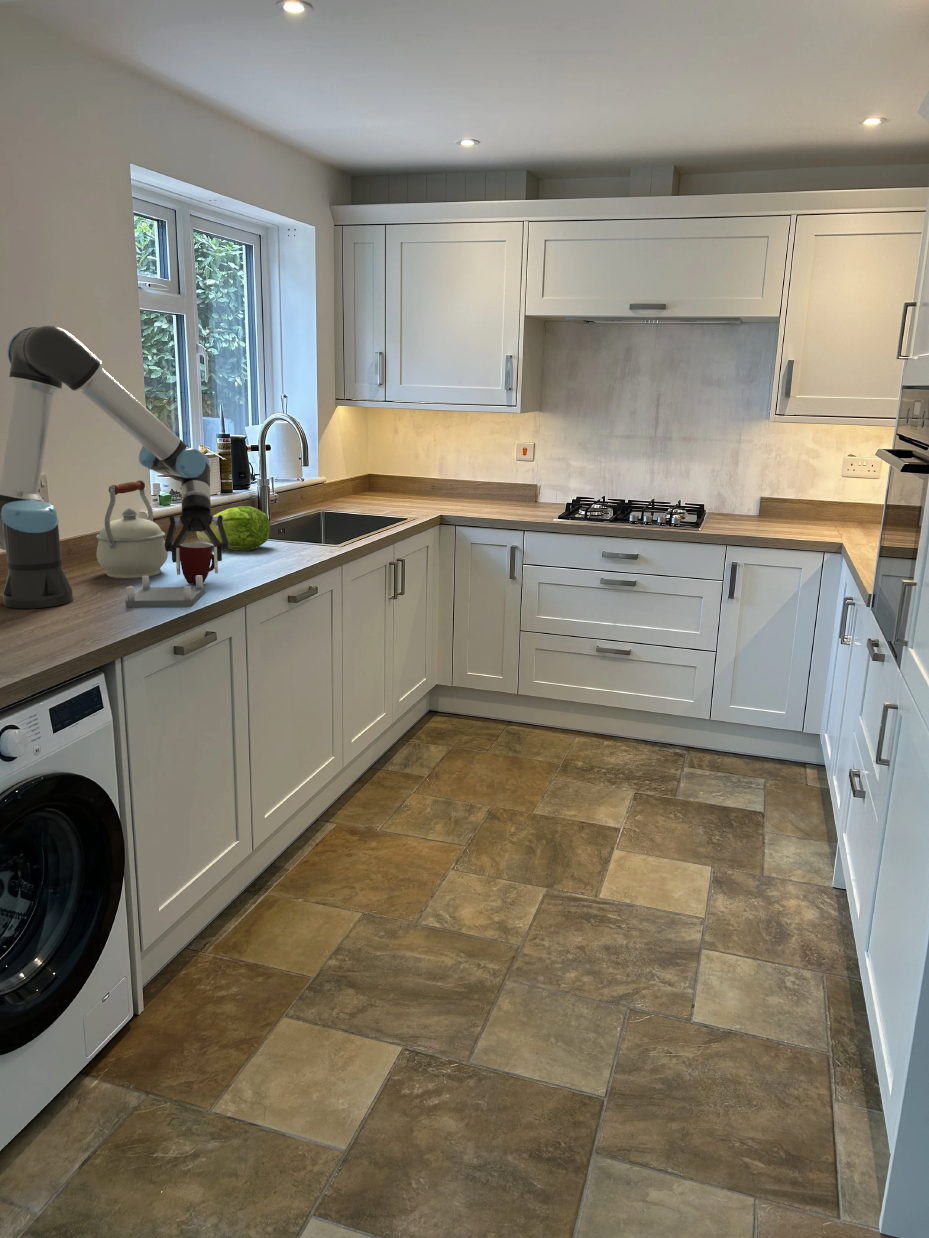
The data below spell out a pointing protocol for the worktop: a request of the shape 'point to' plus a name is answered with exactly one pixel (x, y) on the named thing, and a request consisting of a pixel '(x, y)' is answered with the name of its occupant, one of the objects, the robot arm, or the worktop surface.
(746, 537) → the worktop surface
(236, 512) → the lettuce
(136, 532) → the kettle
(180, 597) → the post board
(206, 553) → the mug
